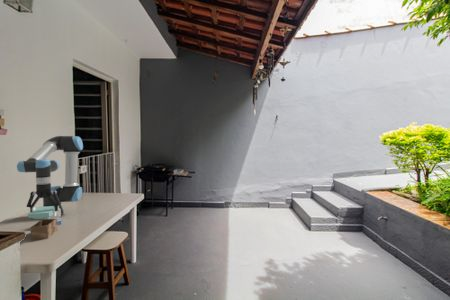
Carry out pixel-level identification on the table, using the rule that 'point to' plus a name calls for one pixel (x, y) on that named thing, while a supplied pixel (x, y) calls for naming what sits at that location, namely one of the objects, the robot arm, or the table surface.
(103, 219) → the table surface
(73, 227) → the table surface
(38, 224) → the crate
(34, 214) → the lid
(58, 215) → the ink box
